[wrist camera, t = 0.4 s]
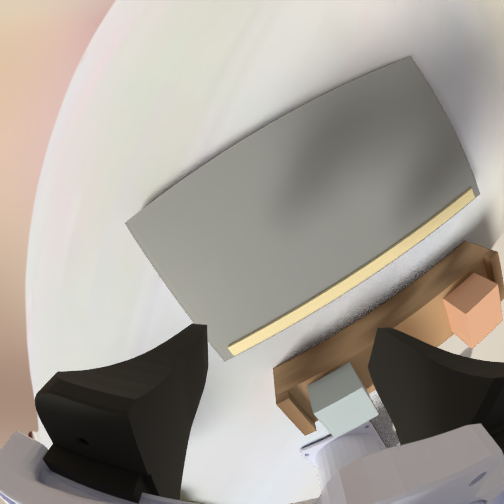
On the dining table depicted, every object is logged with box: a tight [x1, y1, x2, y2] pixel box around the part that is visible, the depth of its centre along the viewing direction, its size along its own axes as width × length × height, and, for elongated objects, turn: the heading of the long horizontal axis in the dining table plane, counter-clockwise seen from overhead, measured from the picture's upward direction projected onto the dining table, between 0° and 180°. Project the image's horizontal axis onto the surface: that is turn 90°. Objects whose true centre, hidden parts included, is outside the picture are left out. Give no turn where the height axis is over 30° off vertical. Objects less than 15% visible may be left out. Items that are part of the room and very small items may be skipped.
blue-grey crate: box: [307, 362, 379, 438], centre depth 17 cm, size 4×4×3 cm
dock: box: [125, 57, 480, 361], centre depth 18 cm, size 12×24×2 cm, turn 123°
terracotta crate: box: [443, 273, 502, 349], centre depth 16 cm, size 4×4×3 cm
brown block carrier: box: [273, 241, 504, 435], centre depth 19 cm, size 20×4×5 cm, turn 123°
